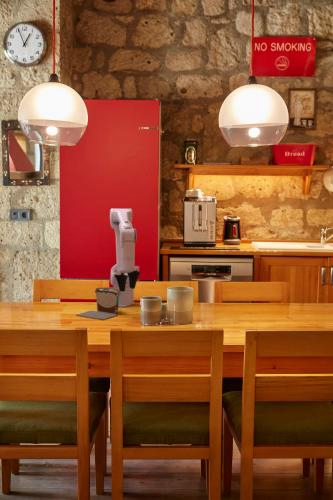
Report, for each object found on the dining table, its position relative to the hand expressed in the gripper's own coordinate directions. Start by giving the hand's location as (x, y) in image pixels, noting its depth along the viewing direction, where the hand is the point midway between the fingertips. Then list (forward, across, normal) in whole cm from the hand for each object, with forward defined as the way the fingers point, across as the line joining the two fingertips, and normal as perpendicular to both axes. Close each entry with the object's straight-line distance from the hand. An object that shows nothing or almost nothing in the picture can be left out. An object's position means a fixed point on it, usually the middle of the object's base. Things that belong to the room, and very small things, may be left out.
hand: (127, 289), depth 232 cm
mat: (+10, -10, +8) cm, 16 cm away
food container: (+11, 0, +8) cm, 14 cm away
